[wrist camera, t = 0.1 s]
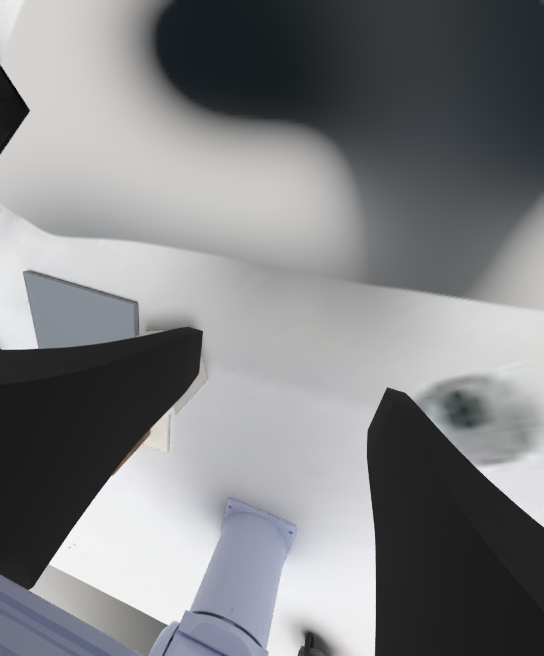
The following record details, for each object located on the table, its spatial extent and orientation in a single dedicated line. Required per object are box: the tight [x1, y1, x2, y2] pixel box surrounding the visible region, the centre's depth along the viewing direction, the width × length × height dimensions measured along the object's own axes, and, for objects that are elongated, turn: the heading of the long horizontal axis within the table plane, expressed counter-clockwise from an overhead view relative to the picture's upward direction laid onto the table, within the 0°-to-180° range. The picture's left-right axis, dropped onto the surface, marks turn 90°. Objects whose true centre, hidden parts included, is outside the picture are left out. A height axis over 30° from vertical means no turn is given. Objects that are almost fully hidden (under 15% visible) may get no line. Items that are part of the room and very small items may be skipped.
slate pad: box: [23, 271, 139, 349], centre depth 26 cm, size 12×12×1 cm
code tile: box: [142, 415, 170, 454], centre depth 28 cm, size 9×9×1 cm
